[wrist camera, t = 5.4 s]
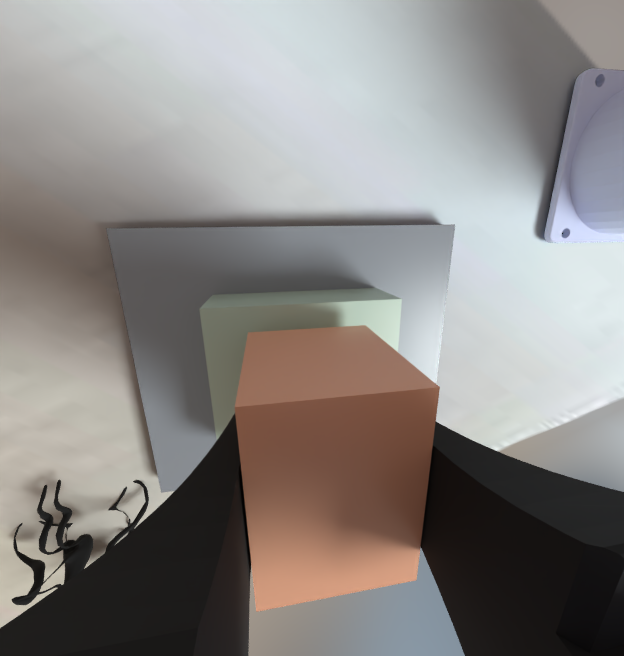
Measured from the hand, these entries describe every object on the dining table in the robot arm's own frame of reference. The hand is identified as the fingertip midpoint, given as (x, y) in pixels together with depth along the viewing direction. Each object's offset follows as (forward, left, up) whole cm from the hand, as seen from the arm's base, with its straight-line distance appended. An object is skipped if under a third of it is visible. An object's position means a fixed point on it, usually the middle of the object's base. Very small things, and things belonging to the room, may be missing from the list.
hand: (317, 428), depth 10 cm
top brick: (0, 0, -2) cm, 2 cm away
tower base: (0, 0, -6) cm, 6 cm away
